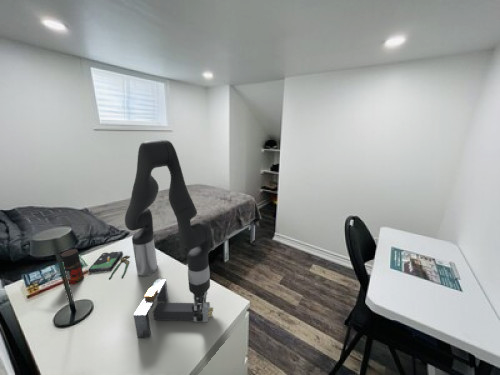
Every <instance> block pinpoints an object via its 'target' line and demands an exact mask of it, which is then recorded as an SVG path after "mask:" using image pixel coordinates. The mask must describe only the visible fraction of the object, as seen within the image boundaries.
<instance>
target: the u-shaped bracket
mask: <svg viewBox="0 0 500 375" xmlns="http://www.w3.org/2000/svg"><path fill="white" fill-rule="evenodd" d="M167 284H168V282H167V278H165V279H163V278H162V279H161V278H155V281H154V282H153V284H152V286H151V287H149V288H148V289H147V291H146V293H145V294H144V298H143V299H142V300H141V302H140V304H139V306H138V307H137V309H136V310H135V312H134V313H133V320H134V326H135V331H136V332H135V333H136V336H137V337H136V338H137V339H150V337H151V335H152V331H151V330H152V329H151V324H150V317H149V313H150V311H151V309H152V307H153V306H154V304H155V302H156V301H157V303H168V301H169V293H168V285H167Z"/></svg>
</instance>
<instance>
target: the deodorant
mask: <svg viewBox="0 0 500 375" xmlns="http://www.w3.org/2000/svg"><path fill="white" fill-rule="evenodd" d="M61 256H62V259H63V262H64V266H63V268H64V267H65V270H64V272H65V271H66V274H65V276H66V275H67V278H68V280H69V284H70V285H69V284H68V285H69V286H74V285H77V284H80V283H81V282H83V281H84V279H85V275H84V271H83V268H82V263H81V258H80V254H79V251H78V249H76V248H72V249H68V250H65V251H63V252H62V253H60V257H61ZM62 259H61V260H62ZM67 278H66V279H67Z"/></svg>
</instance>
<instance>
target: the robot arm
mask: <svg viewBox="0 0 500 375" xmlns="http://www.w3.org/2000/svg"><path fill="white" fill-rule="evenodd" d="M136 164H137V165H136V174H135V179H134V181H133V182H134V183H133V186H132V191H131V197H130V201H129V204H128V207H127V210H126V212H125V215H124V223H125V227H126V228H127V229H128V230H129V231H137V232H135V233H134V234H133V235H132V237H131V241H132V242H131V243H132V249H133V253H134V259H135V267H136V273H137V275H138V276H140V277H147V276H149V275H152V274H154V273H155V272H156V271H157V270H158V260H157V252H156V248H155V247H156V246H155V240H154V238H155V237H154V222H153V221H154V220H153V214H152V211H151V210H150V207H151V206H152V204H154V202H155V201H156V198H157V196H158V193H159V190H160V189H159V187H160V186H159V184H158V181H157V180H156V179H155V178H154V176H153V175H152V172H153V170H154V169H156V168H161V167H167V169H168V171H169V175H170V184H169V188H168V189H169V190H168V201H169V205H170V207H171V209H172V211H173V213H174V215H175V219H176V223H177V227H178V228H177V229H178V233H179V234H178V235H179V241H180V243H181V244H182V247H184V248H186V249H187V250H188V252H187V278H188V279H187V280H188V290H189V292H190V293H192V294H193V298H192V299H193V303H194V305H192V312H193V316H194V317H196V320H197V321H203V306H204V302H207V298H208V296H207V295H208V290H209V289H210V287H211V274H210V266H209V252H210V248H211V242H212V237H213V235H212V234H213V232H212V228H211V227H210V225H209V224H208V223H207V222H205V221H201V222H197V223H196V224H193V225H191V220H192V219H193V218H195V217H196V216H197V214H198V211H197V208H196V205H195V204H194V202H193V199H192V197H191V194H190V193H189V191H188V188H187V185H186V182H185V178H184V174H183V171H182V168H181V167H182V166H181V164H180V160H179V157H178V154H177V151H176V147H175V146H174V144H173V143H172V142H171V141H170V140H167V139H161V140H160V139H159V140H157V139H156V140H146V141H144V142H143V141H142V143H140V144H139V147H138V152H137V163H136ZM198 303H202V304H198ZM200 308H201V309H200Z"/></svg>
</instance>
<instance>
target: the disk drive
mask: <svg viewBox="0 0 500 375" xmlns="http://www.w3.org/2000/svg"><path fill="white" fill-rule="evenodd" d="M123 255H124V252H123V251H111V252H102V253H101V254H100V256H99V257H98V258H97V259H96V260H95V261H94V262H93V264H91V266H90V267H89V268H88V273H89V274H91V273H92V274H94V273H104V272H112V270H113V269H115V266H117V264H118V262H119V260H121V258H122V257H123Z"/></svg>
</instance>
